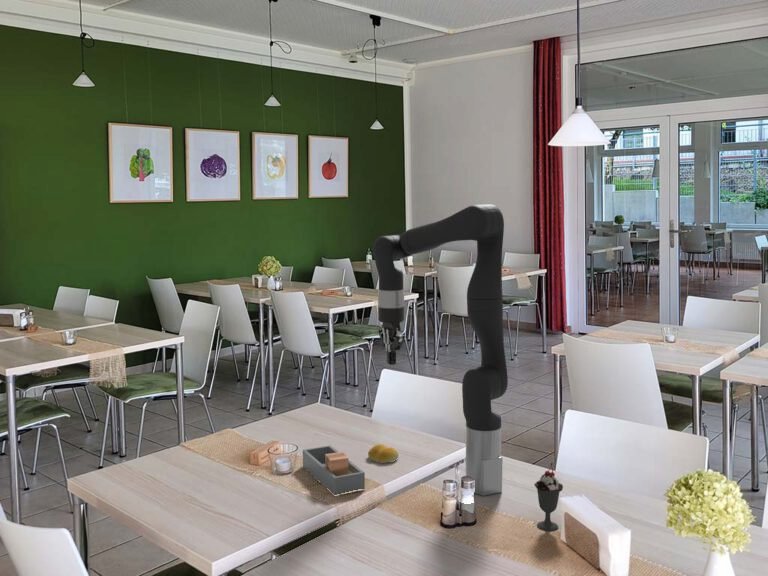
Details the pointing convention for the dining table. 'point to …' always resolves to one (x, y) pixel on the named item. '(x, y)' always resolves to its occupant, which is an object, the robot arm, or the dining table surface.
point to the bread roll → (382, 453)
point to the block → (337, 463)
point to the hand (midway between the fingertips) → (391, 363)
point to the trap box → (336, 485)
